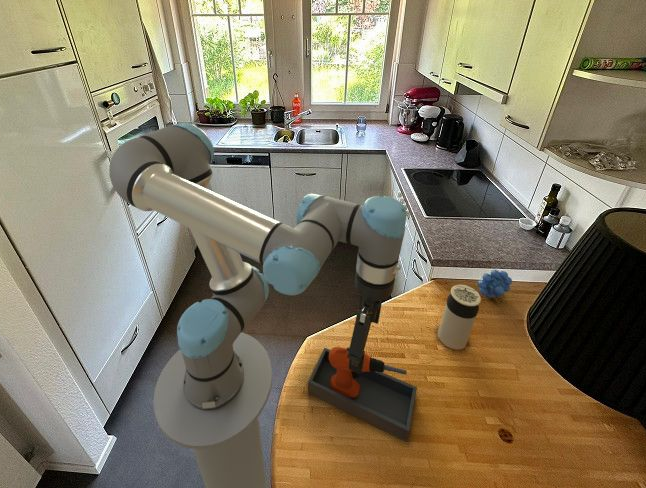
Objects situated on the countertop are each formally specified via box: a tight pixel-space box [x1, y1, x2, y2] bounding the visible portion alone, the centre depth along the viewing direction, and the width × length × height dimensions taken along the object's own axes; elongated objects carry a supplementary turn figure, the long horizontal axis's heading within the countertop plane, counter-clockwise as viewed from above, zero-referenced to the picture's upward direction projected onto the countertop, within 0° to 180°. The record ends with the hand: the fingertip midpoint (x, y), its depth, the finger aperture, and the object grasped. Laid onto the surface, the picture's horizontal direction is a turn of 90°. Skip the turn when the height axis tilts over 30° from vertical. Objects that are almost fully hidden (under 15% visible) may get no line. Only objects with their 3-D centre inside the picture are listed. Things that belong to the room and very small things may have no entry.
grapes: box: [477, 269, 513, 299], centre depth 106 cm, size 12×7×12 cm, turn 95°
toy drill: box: [329, 346, 408, 399], centre depth 78 cm, size 5×19×15 cm, turn 70°
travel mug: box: [437, 284, 482, 351], centre depth 92 cm, size 8×8×18 cm
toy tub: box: [307, 347, 418, 442], centre depth 81 cm, size 25×11×5 cm, turn 64°
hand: (364, 343), depth 72 cm, fingers open, 13 cm apart
